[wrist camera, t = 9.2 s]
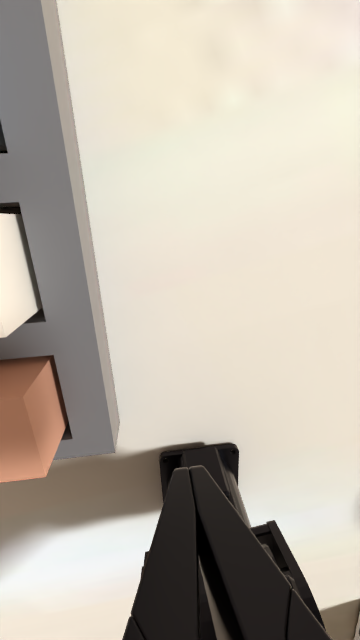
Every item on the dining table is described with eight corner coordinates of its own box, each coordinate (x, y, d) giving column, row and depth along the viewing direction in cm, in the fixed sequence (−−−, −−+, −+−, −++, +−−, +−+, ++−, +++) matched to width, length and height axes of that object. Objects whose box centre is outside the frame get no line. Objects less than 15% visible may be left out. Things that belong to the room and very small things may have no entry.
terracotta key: (70, 414, 19) (45, 477, 15) (-5, 423, 19) (-56, 489, 14) (56, 349, 18) (22, 396, 13) (-28, 357, 17) (-93, 408, 13)
